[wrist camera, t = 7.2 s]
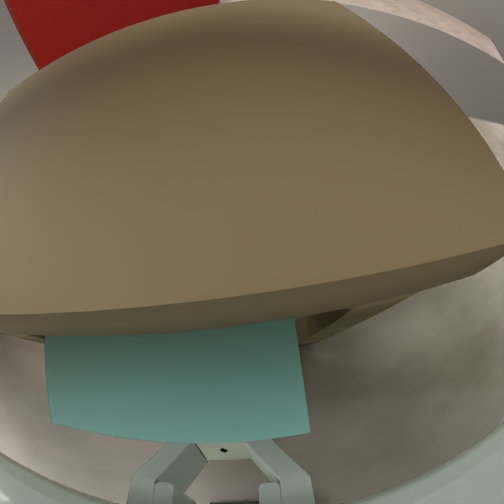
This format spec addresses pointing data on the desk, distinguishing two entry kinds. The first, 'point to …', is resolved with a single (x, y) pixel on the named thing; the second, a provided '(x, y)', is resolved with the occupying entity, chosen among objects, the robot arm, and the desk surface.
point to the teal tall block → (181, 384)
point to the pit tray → (237, 503)
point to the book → (82, 21)
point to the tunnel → (236, 178)
